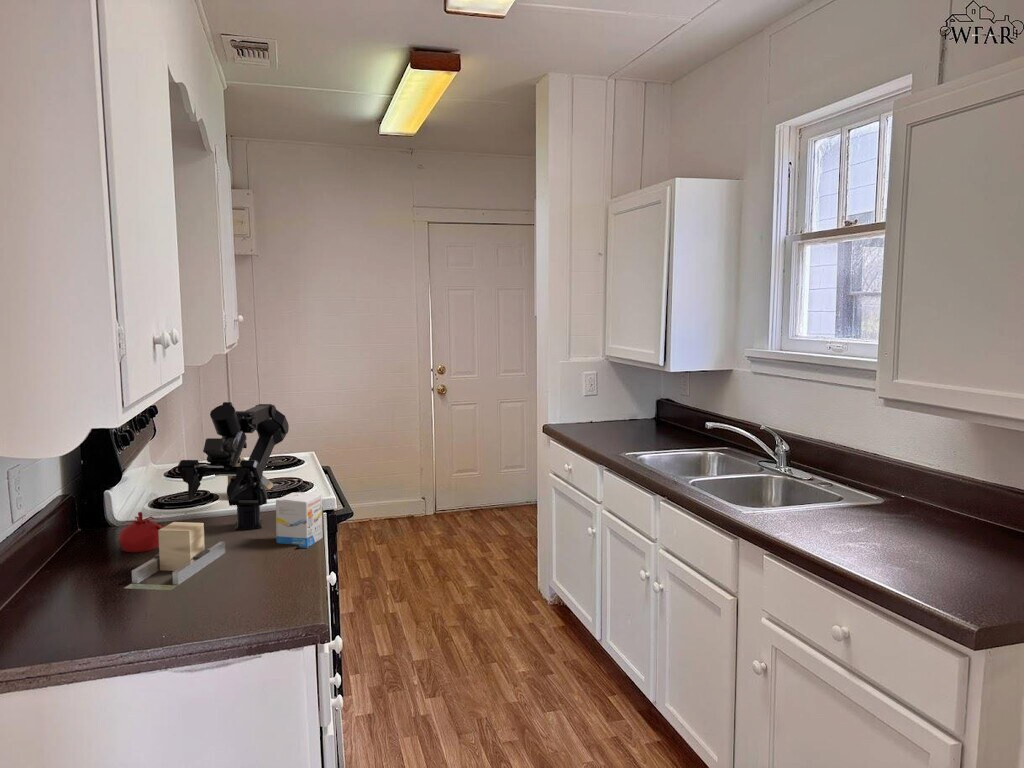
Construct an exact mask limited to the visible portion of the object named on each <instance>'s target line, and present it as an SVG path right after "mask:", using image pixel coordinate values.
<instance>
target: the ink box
mask: <svg viewBox="0 0 1024 768" xmlns="http://www.w3.org/2000/svg"><path fill="white" fill-rule="evenodd" d="M322 497H323V495H322V493H315V492H313V493H312V492H300V491H299V492H291V493H289V494H287V495H283V496H282V497H280V498H275V521H276V524H275V526H276V527H275V528H276V532H275V533H276V535H275V536H276V537H275V538H276V541H275V542H276V544H284V545H285V544H286V545H295V546H296V545H297V546H296V548H302V549H303V548H304V549H305V548H306V549H308V548H310V547H311V546H312V545H315V543H317V542H318V541H320V540H321V539H323V501H322V500H323V498H322ZM309 546H310V547H309Z"/></svg>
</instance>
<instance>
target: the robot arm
mask: <svg viewBox="0 0 1024 768" xmlns="http://www.w3.org/2000/svg"><path fill="white" fill-rule="evenodd" d="M209 416H210V419H211V421H212V424H213V427H214V429H215V431H216V435H219V436H220V438H213V437H212V438H208V437H207V438H206V439H205V442H204V446H203V449H202V452H203V453H204V454H206V455H207V457H206V461H207V463H209V464H200V461H199V460H198V459H181V460H180V461H179V462H178V464H177V471H178V472H179V475H180V477H181V479H182V481H183V482H184V483H186V484H187V496H188V500H192V499H193V498H194V497H195V495H196V494H197V492H198V490H199V489H200V486H201V485H202V484H201V481H202V480H203V477H204V475H214V476H220V477H222V476H223V477H228V476H232V478H231V479H230V480H231V481H230V483H229V484H228V483H227V485H226V496H227V499H228V500H227V501H228V504H229V506H230V507H232V506H236V512H237V513H236V515H237V516H236V517H237V520H236V522H235V530H236V531H242V530H252V529H261V528H263V521H262V519H261V506H263V505H266V504H268V503H267V501H268V498H267V492H266V490H265V488H264V486H263V484H262V480H261V479H262V475H263V473H264V471H265V468H266V466H267V463H268V462H269V459H270V456H271V454H272V452H273V449H274V448H275V446H276V445H279V444H280V443H282V442H283V440H284V439H285V438H286V436H287V434H288V433H289V429H290V428H289V422H288V420H287V418H286V416H285V414H283V413H282V412H280V411H279V410H277V407H276V405H275V404H272V403H259V404H256V405H255V406H253V407H251V408H249V409H246V410H237V411H236V409H235V406H233V403H232V402H231V401H230V402H226V401H225V402H224V401H223V402H222V404H221V405H218V406H216V407H214V408H213V409H211V411H210V413H209ZM254 432H257V436H258V438H257V441H256V443H255V444H254V447H253V449H252V451H251V453H250V455H249V458H248V459H245V460H241V459H240V456H242V452H243V449H247V446H248V445H247V435H246V434H253V433H254ZM240 461H241V462H240ZM237 463H240V465H241V466H242V467H236V465H237Z"/></svg>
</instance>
